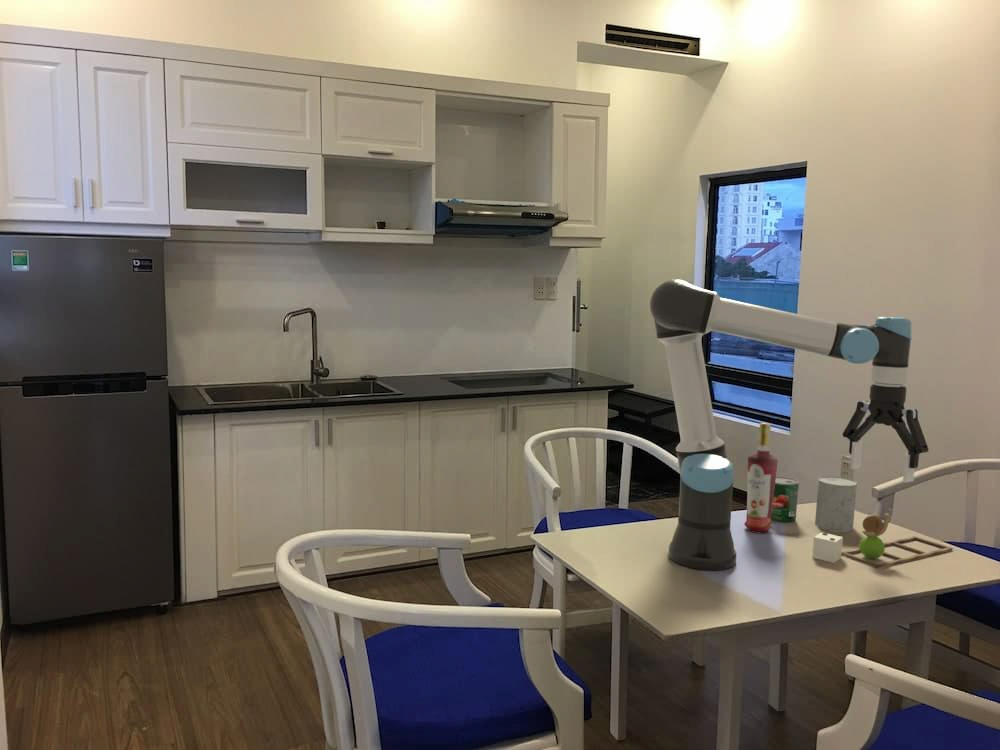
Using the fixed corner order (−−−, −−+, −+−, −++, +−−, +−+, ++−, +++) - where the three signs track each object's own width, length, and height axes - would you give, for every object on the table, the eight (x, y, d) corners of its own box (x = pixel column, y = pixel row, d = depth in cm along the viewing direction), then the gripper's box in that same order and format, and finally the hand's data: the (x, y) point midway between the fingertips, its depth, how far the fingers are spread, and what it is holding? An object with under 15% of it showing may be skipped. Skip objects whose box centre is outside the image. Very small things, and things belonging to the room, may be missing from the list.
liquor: (777, 530, 209) (785, 424, 206) (764, 536, 204) (772, 427, 200) (751, 524, 214) (758, 420, 211) (737, 529, 209) (745, 423, 205)
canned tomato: (763, 521, 217) (766, 481, 216) (767, 514, 224) (769, 475, 223) (794, 526, 214) (797, 485, 212) (797, 518, 221) (800, 479, 219)
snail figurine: (892, 562, 187) (896, 512, 186) (864, 561, 188) (868, 511, 186) (881, 554, 193) (886, 505, 191) (854, 553, 193) (858, 505, 191)
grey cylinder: (853, 524, 217) (857, 479, 216) (853, 533, 208) (857, 487, 207) (815, 518, 221) (819, 474, 219) (813, 528, 212) (817, 482, 211)
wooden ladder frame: (878, 568, 183) (878, 565, 183) (840, 554, 192) (841, 552, 192) (952, 550, 197) (952, 548, 197) (914, 538, 206) (914, 536, 206)
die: (834, 563, 186) (836, 541, 185) (812, 557, 189) (814, 536, 189) (841, 557, 190) (843, 536, 189) (819, 552, 193) (821, 531, 192)
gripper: (951, 390, 176) (942, 485, 179) (851, 377, 198) (845, 462, 200) (930, 392, 173) (921, 489, 175) (831, 378, 194) (824, 464, 197)
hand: (880, 475), depth 188 cm, fingers open, 13 cm apart
